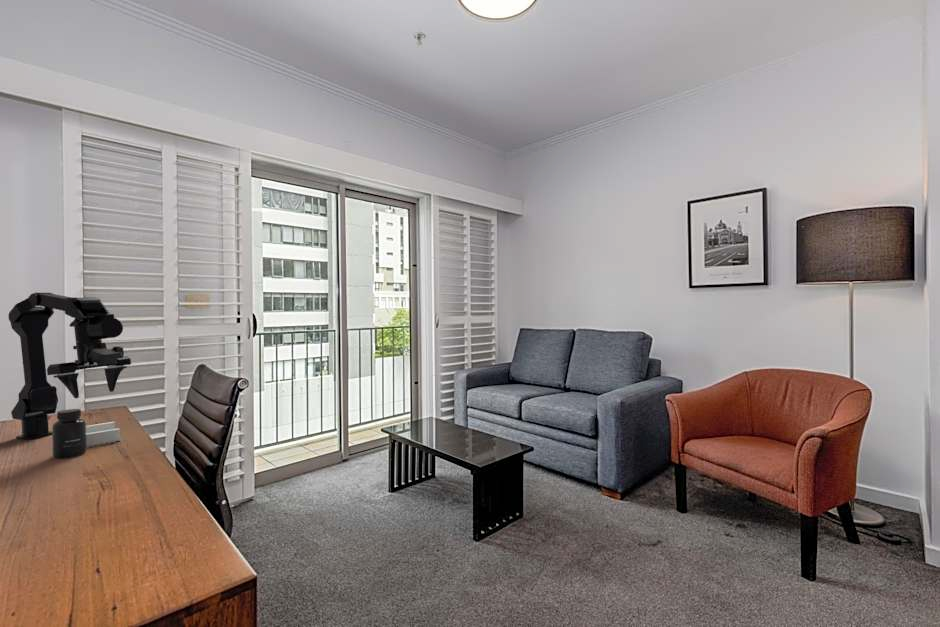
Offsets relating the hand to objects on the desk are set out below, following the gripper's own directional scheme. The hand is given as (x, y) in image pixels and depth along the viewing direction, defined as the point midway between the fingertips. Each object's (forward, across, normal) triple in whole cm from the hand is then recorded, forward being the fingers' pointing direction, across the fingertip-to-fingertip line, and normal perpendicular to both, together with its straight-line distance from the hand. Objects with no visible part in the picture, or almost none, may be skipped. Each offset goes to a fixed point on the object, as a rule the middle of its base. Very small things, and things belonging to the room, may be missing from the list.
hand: (94, 394), depth 131 cm
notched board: (+14, +3, +5) cm, 15 cm away
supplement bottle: (+15, -8, -2) cm, 17 cm away
